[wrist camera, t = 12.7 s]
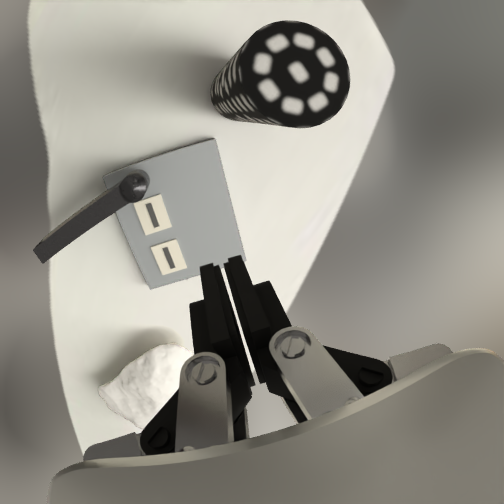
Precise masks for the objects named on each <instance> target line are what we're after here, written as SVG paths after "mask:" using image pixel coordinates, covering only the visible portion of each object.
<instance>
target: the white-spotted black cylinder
mask: <svg viewBox="0 0 504 504" xmlns="http://www.w3.org/2000/svg"><path fill="white" fill-rule="evenodd" d="M349 88H350V73H349V67H348V64H347V61H346V58H345V56H344V54H343V52H342V50H341V49H340V47H339V46H338V45H337V43H336V42H335V41H334V40H333V39H332V38H331V37H330V36H329V35H328V34H326V33H325V32H323V31H322V30H320V29H319V28H317V27H315V26H312V25H310V24H307V23H303V22H299V21H279V22H274V23H271V24H268V25H266V26H264V27H262V28H260V29H259V30H257V31H256V32H255V33H254V34H253V35H252V36H251V37H250V38H249V39H248V40H247V41H246V42H245V43H244V44H243V46H242V47H241V48H240V49H239V50H238V51H237V52H236V54H235V55H234V56H233V57H232V58H231V59H230V61H229V62H228V63H227V64H226V65H225V67H224V68H223V69H222V70H221V71H220V73H219V74H218V75H217V76H216V78H215V79H214V81H213V84H212V87H211V99H212V102H213V105H214V106H215V108H216V109H217V111H218V112H219V113H220V114H221V115H223V116H224V117H226V118H228V119H231V120H234V121H242V122H252V123H261V124H270V125H278V126H285V127H293V128H309V127H313V126H317V125H320V124H322V123H324V122H326V121H328V120H330V119H331V118H332V117H333V116H334V115H336V114H337V113H338V111H339V110H340V109H341V108H342V106H343V104H344V102H345V100H346V98H347V96H348V92H349Z"/></svg>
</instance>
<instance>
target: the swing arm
mask: <svg viewBox="0 0 504 504" xmlns="http://www.w3.org/2000/svg"><path fill="white" fill-rule="evenodd" d="M149 184H150V178H149V175H148V174H147V173H146V172H145V171H144V170H141V169H135V170H132V171H131V172H130V173H129V174H128V175H127V176H126V177H125V178H124V179H123V180H122V181H121V182H119V183H117V184H116V185H114V186H113V187H111V188H110V189H108V190H107V191H105V192H104V193H102V194H101V195H100V196H98V197H97V198H95V199H94V200H92V201H91V202H90V203H88V204H87V205H85V206H84V207H83V208H81V209H80V210H79V211H77V212H76V213H75V214H73V215H72V216H71V217H69V218H68V219H67V220H65V221H64V222H63V223H61V224H60V225H59V226H58V227H56V228H55V229H54V230H53V231H51V232H50V233H49V234H48V235H47V236H45V237H44V238H43V239H42V240H41V242H40V243H39V244H38V245H37V246H36V247H35V248H34V250H33V251H34V252H35V254H36V255H37V256H38V258H39V259H40V261H41V262H42V263H45V262H46V261H47V260H48V259H50V258H51V257H52V256H54V255H55V254H56V253H57V252H59V251H60V250H61V249H63V248H64V247H65V246H67V245H68V244H70V243H71V242H72V241H74V240H75V239H76V238H78V237H79V236H81V235H82V234H83V233H85V232H86V231H88V230H89V229H91V228H92V227H94V226H95V225H96V224H98V223H99V222H101V221H102V220H104V219H105V218H107V217H108V216H110V215H112V214H113V213H115V212H116V211H118V210H119V209H121V208H122V207H124V206H126V205H127V204H129V203H136V202H138V201H140V200H141V199H142V198H143V197H144V195H145V193H146V191H147V189H148V187H149Z"/></svg>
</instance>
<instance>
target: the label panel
mask: <svg viewBox="0 0 504 504" xmlns="http://www.w3.org/2000/svg"><path fill="white" fill-rule="evenodd" d="M135 169H141V170H144V171H145V172H146V173H147V174H148V175H149V178H150V184H149V187H148V189H147V191H146V193H145V195H144V197H143V198H142V199H141V200H140V201H138V202H136V203H129V204H127V205H126V206H124V207H122V208H121V209H119V210H118V211H116V214H117V217H118V219H119V222H120V224H121V227H122V229H123V231H124V234H125V236H126V239H127V241H128V243H129V245H130V248H131V250H132V252H133V254H134V257H135V259H136V261H137V263H138V265H139V268H140V270H141V272H142V274H143V276H144V278H145V280H146V282H147V284H148V286H149V288H150V290H151V289H154V288H158V287H161V286H164V285H168V284H171V283H174V282H178V281H181V280H184V279H188V278H191V277H194V276H198V275H200V266H203V265H206V264H210V263H213V265H214V266H216V265H219V266H220V269H221V268H224V264H223V263H226V262H228V258H230V257H234V256H237V255H241V256H242V259H243V261H246V257H245V253H244V249H243V245H242V241H241V237H240V234H239V230H238V226H237V222H236V218H235V214H234V210H233V206H232V202H231V198H230V194H229V190H228V186H227V182H226V178H225V174H224V170H223V166H222V162H221V158H220V154H219V150H218V146H217V142H216V139H215V138H214V139H210V140H206V141H203V142H199V143H196V144H192V145H189V146H186V147H182V148H179V149H176V150H173V151H169V152H166V153H163V154H160V155H157V156H154V157H151V158H148V159H146V160H143V161H140V162H137V163H134V164H132V165H129V166H126V167H124V168H121V169H119V170H116V171H114V172H111V173H109V174H106V175H105V176H103V179H104V182H105V185H106V188H107V190H108V189H110V188H111V187H113V186H114V185H116V184H117V183H119V182H121V181H122V180H123V179H124V178H125V177H126V176H127V175H128V174H129V173H130V172H131V171H132V170H135Z"/></svg>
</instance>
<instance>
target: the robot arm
mask: <svg viewBox="0 0 504 504" xmlns="http://www.w3.org/2000/svg"><path fill="white" fill-rule="evenodd" d="M223 264H224V268H225V272H226V275H227V279H228V282H229V286H230V289H231V293H232V296H233V300H234V303H235V307H236V310H237V314H238V317H239V320H240V324H241V327H242V330H243V334H244V337H245V340H246V343H247V346H248V349H249V352H250V355H251V358H252V361H253V364H254V367H255V370H256V373H257V376H258V379H259V382H260V384H261V383H265V382H266V385H267V387H268V390H269V392H271V393H273V394H276V395H278V396H281V399H282V401H283V402H284V404H285V406H286V408H287V409H288V411H289V413H290V414H291V416H292V418H293V419H294V421H295V422H296V425H294V426H290V427H287V428H285V429H281V430H278V431H275V432H271V433H268V434H264V435H260V436H257V437H253V438H249V428H248V417H247V409H246V405H247V403H248V402H249V401H250V399H251V398H252V396H251V395H252V391H251V388H250V387H251V386H254V385H255V382H254V378H253V375H252V372H251V368H250V365H249V362H248V358H247V355H246V352H245V348H244V345H243V341H242V338H241V334H240V331H239V327H238V324H237V320H236V317H235V314H234V311H233V308H232V304H231V301H230V298H229V295H228V292H227V289H226V286H225V282H224V279H223V276H222V273H221V269H220V266H219V265H216V266H214V265H213V263H210V264H206V265H203V266H200V275H201V282H202V289H203V295H204V300H200V301H197V302H193V303H190V304H189V308H190V319H191V329H192V338H193V347H194V355H193V356H191V357H190V358H189V359H188V360H186V361H185V363H184V364H183V366H182V368H181V372H180V381H179V389H178V390H177V391H176V392H175V393H174V394H173V396H172V397H171V398H170V399H169V400H168V401H167V403H166V404H165V405H164V406H163V407H162V408H161V409H160V411H159V412H158V413H157V414H156V415H155V416H154V417H153V419H152V420H151V421H150V422H149V423H148V424H147V425H146V426H145V428H144V429H143V431H142V432H141V433H139V434H136V433H135V432H133V433H130V434H127V435H124V436H121V437H118V438H115V439H112V440H108V441H105V442H102V443H98V444H94V445H92V446H90V447H89V448H88V449H87V450H86V451H85V454H84V456H83V458H84V459H83V460H84V461H83V462H79V463H76V464H73V465H71V466H69V467H67V468H64V469H63V470H61V471H59V472H58V473H57V474H56V475H55V476H54V477H53V478H52V480H51V482H50V485H49V489H48V495H47V504H504V359H503V358H501V356H499V355H498V354H496V353H495V352H493V351H491V350H489V349H485V348H473V349H466V350H461V351H457V352H454V353H453V352H452V351H451V349H450V348H449V347H447V346H445V345H443V344H433V345H430V346H426V347H423V348H420V349H417V350H414V351H410V352H407V353H403V354H399V355H395V356H392V357H389V359H388V360H386V361H380V360H377V359H374V358H370V357H366V356H361V355H358V354H354V353H350V352H346V351H342V350H338V349H334V348H330V347H327V346H323V345H322V344H321V343H320V342H319V341H318V339H317V338H316V337H315V336H314V334H313V333H311V332H310V331H309V330H308V329H305V328H303V327H297V326H294V327H292V325H291V323H290V321H289V319H288V317H287V315H286V313H285V311H284V309H283V307H282V305H281V303H280V301H279V299H278V297H277V295H276V293H275V291H274V289H273V287H272V284H271V283H270V281H266V282H262V283H259V284H256V285H253V284H252V281H251V279H250V276H249V274H248V271H247V269H246V266H245V264H244V261H243V259H242V256H241V255H237V256H234V257H230V258H228V262H226V263H223Z"/></svg>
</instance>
